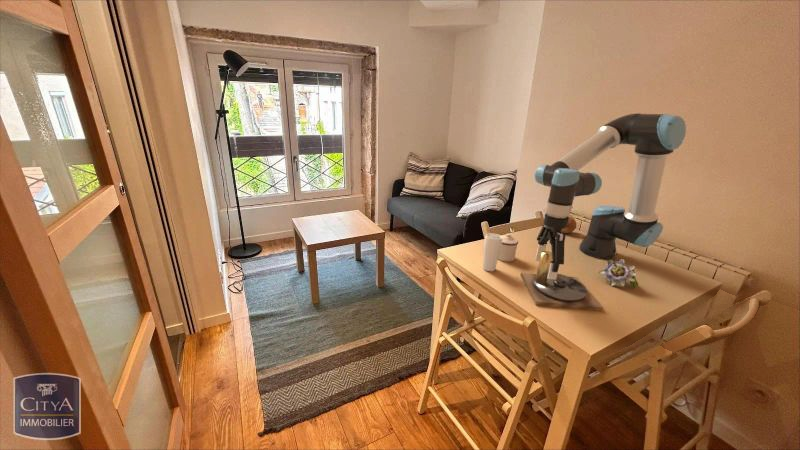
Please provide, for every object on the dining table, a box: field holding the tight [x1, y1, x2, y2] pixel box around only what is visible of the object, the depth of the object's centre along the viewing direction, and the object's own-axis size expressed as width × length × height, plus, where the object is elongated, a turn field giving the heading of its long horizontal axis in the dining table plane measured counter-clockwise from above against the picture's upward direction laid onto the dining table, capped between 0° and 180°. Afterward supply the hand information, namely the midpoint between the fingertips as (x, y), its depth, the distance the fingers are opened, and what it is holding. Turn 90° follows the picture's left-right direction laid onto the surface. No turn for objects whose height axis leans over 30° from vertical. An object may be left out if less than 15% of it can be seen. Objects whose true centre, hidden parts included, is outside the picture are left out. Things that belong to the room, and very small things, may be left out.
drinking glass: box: [482, 232, 503, 272], centre depth 129 cm, size 7×7×15 cm
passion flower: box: [598, 258, 639, 289], centre depth 124 cm, size 11×11×12 cm
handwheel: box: [533, 250, 587, 302], centre depth 114 cm, size 18×18×13 cm
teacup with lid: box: [497, 233, 519, 263], centre depth 141 cm, size 12×9×12 cm
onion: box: [561, 214, 577, 235], centre depth 173 cm, size 10×10×10 cm
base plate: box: [520, 272, 603, 311], centre depth 117 cm, size 22×20×2 cm
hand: (544, 269), depth 114 cm, fingers open, 13 cm apart
